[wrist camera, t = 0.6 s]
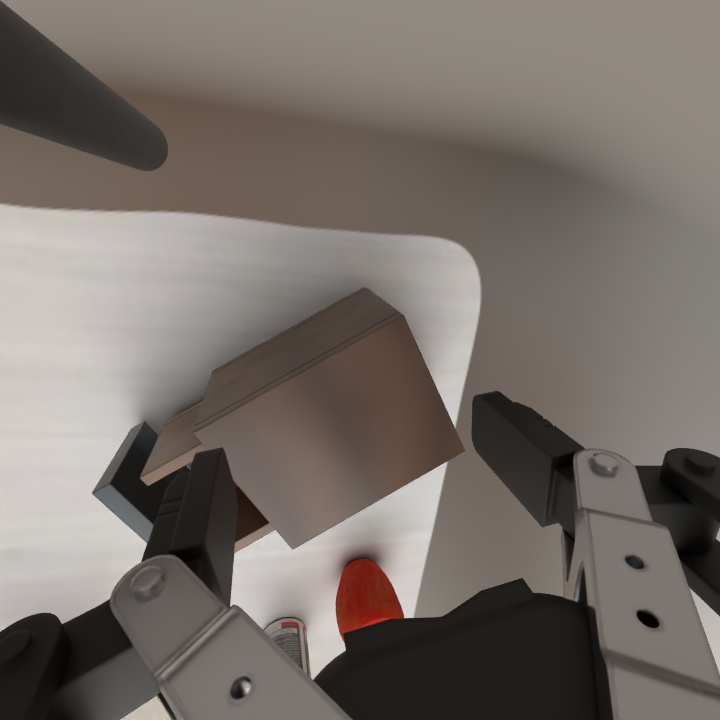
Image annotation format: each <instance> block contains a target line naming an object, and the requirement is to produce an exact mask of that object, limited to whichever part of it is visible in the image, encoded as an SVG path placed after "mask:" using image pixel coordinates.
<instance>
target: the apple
mask: <svg viewBox="0 0 720 720" xmlns="http://www.w3.org/2000/svg"><path fill="white" fill-rule="evenodd" d="M336 617H337V623H338V627H339V632H340V635H341V637H342V639H343V641H344V636H343V633H346V632H349V631H352V630H356V629H359V628H362V627H365V626H369V625H372V624H375V623H378V622H382V621H385V620H388V619H401V618H404V614H403V611H402V608H401V605H400V603H399V600H398V598H397V595H396V593H395V591H394V588H393V586H392V584H391V582H390V581H389V579H388V578H387V576H386V574H385V573H384V572H383V571H382V570H381V569H380V567H379V566H378V565H377V564H375V563H374V562H373V561H371V560H369V559H364V558H361V559H358V560H354V561H353V562H351V563H350V564H349V565H347V566H346V568H345V570H344V571H343V573H342V576H341V580H340V584H339V587H338V591H337V597H336ZM344 643H345V641H344Z"/></svg>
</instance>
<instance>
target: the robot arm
mask: <svg viewBox="0 0 720 720" xmlns="http://www.w3.org/2000/svg"><path fill="white" fill-rule="evenodd" d="M472 441H473V445H474V447H475V450H476V451H477V453H478V454H479V455H480V456H481V458H482V459H483V460H484V461H485V462H486V463H487V465H488V466H489V467H490V468H491V469H492V470H493V471H494V473H495V474H496V475H497V476H498V477H499V478H500V480H501V481H502V482H503V483H504V484H505V485H506V486H507V487H508V489H509V490H510V491H511V492H512V493H513V494H514V496H515V497H516V498H517V499H518V500H519V501H520V502H521V504H522V505H523V506H524V507H525V508H526V509H527V510H528V512H529V513H530V514H531V515H532V516H533V517H534V518H535V520H536V521H537V522H538V523H539V524H540V525H541V526H542V527H545V526H548V525H552V524H555V523H559V524H560V525H561V526H562V527H563V528H562V535H561V543H562V565H563V589H564V597H561V596H555V595H550V594H543V593H533V592H532V591H531V589H530V588H529V587H528V585H527V584H526V582H525V581H524V580H523V578H521V579H518V580H514V581H511V582H508V583H505V584H502V585H499V586H495V587H492V588H489V589H485V590H482V591H480V592H479V593H477V594H476V595H474V596H473V597H472V598H470V599H469V600H467V601H466V602H464V603H463V604H461V605H460V606H458V607H457V608H455V609H454V610H452V611H451V612H449V613H448V614H446V615H445V616H442V617H434V618H401V619H388V620H385V621H382V622H378V623H375V624H372V625H369V626H365V627H362V628H359V629H356V630H352V631H349V632H346V633H343V636H344V641H345V647H346V651H344V652H343V653H342V654H340V655H339V656H337V657H336V658H335V659H333V660H332V661H331V662H330V663H329V664H328V665H326V666H325V667H324V668H323V670H322V671H321V672H320V673H319V674H318V675H317V676H316V677H315V679H314V680H312V679H311V678H310V677H309V676H308V675H307V674H306V673H305V672H304V671H303V670H302V669H301V668H300V667H299V666H298V665H297V664H296V663H295V662H294V661H293V660H292V659H291V658H290V657H289V656H288V655H287V654H286V653H285V652H284V651H283V650H282V649H281V648H280V647H279V646H278V645H277V644H276V643H275V642H274V641H273V640H272V639H271V638H270V637H269V636H268V635H267V634H266V633H265V632H264V631H263V629H262V628H261V627H260V626H259V625H258V624H257V623H256V622H255V621H254V620H253V619H252V618H251V617H250V616H249V615H248V614H247V613H246V612H244V611H243V610H242V609H241V608H240V607H239V606H237V605H232V606H231V607H230V598H231V586H232V573H233V561H234V549H235V536H236V524H237V512H238V503H237V494H236V489H235V485H234V482H233V478H232V475H231V471H230V467H229V464H228V460H227V457H226V453H225V450H224V449H223V447H220V448H215V449H211V450H206V451H201V452H196V453H195V455H194V459H193V463H192V466H191V470H190V472H185V473H181V474H178V475H177V476H176V477H175V478H174V480H173V481H172V482H171V483H170V484H169V485H168V487H167V488H166V490H165V493H164V496H163V499H162V505H160V508H159V511H158V514H157V515H158V517H156V520H155V523H154V526H153V529H152V532H151V535H150V538H149V540H148V543H147V546H146V549H145V552H144V555H143V558H142V561H141V563H139V564H138V565H136V566H135V567H133V568H132V569H131V570H129V571H128V572H127V573H126V574H125V575H124V576H123V577H122V578H121V579H120V581H119V582H118V583H117V585H116V586H115V588H114V590H113V592H112V595H111V598H110V599H109V600H108V601H106V602H104V603H103V604H101V605H99V606H97V607H95V608H93V609H91V610H89V611H87V612H85V613H84V614H82V615H80V616H78V617H76V618H74V619H72V620H70V621H68V622H66V623H64V624H62V623H61V622H60V620H59V619H58V617H57V616H55V615H53V614H51V613H39V614H35V615H31V616H28V617H26V618H23V619H21V620H19V621H17V622H15V623H14V624H12V625H10V626H8V627H7V628H5V629H4V630H2V631H1V632H0V720H120V719H121V718H123V717H124V716H126V715H128V714H129V713H131V712H132V711H134V710H135V709H137V708H138V707H140V706H141V705H143V704H144V703H146V702H147V701H149V700H151V699H152V698H154V697H155V696H157V697H158V699H159V700H160V702H161V704H162V705H163V707H164V709H165V710H166V712H167V713H168V715H169V717H170V718H171V720H720V675H719V671H718V668H717V665H716V663H715V660H714V657H713V654H712V651H711V648H710V646H709V643H708V640H707V637H706V634H705V632H704V629H703V626H702V623H701V620H700V617H699V614H698V612H697V609H696V606H695V603H694V600H693V597H692V594H691V591H690V589H689V587H690V588H691V589H692V590H693V591H694V592H695V593H696V594H697V595H698V596H699V597H700V598H701V599H702V600H703V601H704V602H705V603H706V604H708V605H709V607H710V608H712V609H713V610H714V611H715V612H716V613H717V614H718V615H719V616H720V542H719V541H718V540H716V536H717V533H718V531H719V528H720V458H719V457H717V456H714V455H712V454H710V453H707V452H703V451H699V450H695V449H688V448H677V449H672V450H670V451H668V452H667V453H666V454H665V457H664V461H663V464H662V466H634V465H633V464H632V463H631V462H630V461H629V460H627V459H626V458H624V457H622V456H620V455H618V454H616V453H613V452H610V451H607V450H602V449H585V448H584V447H582V446H581V445H580V444H578V443H577V442H576V441H574V440H573V439H572V438H570V437H569V436H568V435H566V434H565V433H564V432H562V431H561V430H560V429H558V428H557V427H556V426H553V425H552V424H551V423H550V422H549V421H548V420H546V419H543V417H542V416H541V415H540V414H538V413H537V412H536V411H534V410H533V409H532V408H529V407H527V406H524V405H522V404H519V403H517V402H514V403H513V402H512V401H511V400H509V399H508V398H507V397H506V396H504V395H503V394H502V393H500V392H498V391H494V392H489V393H484V394H479V395H476V396H474V398H473V403H472Z"/></svg>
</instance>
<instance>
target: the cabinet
mask: <svg viewBox="0 0 720 720" xmlns="http://www.w3.org/2000/svg"><path fill="white" fill-rule="evenodd" d="M193 434H194V435H195V436H196V438H197V439H198V440H199V441H200V442H201V443H202V445H203V446H204V447H205V448H206V449H207V450H211V449H215V448H220V447H223V449H224V450H225V453H226V457H227V460H228V464H229V467H230V471H231V475H232V478H233V481H234V482H235V483H236V484H237V485H238V486H239V488H240V489H241V490H242V491H243V492H244V493H245V495H246V496H247V497H248V498H249V499H250V500H251V502H252V503H253V504H254V505H255V506H256V507H257V509H258V510H259V511H260V512H261V513H262V514H263V516H264V517H265V518H266V519H267V520H268V521H269V523H270V524H271V525H272V526H273V527H274V528H275V530H276V531H277V532H278V533H279V534H280V535H281V536H282V538H283V539H284V540H285V541H286V542H287V543H288V545H289V546H290V547H291V548H292V549H295V548H296V547H298V546H300V545H302V544H303V543H305V542H307V541H309V540H310V539H312V538H314V537H316V536H317V535H319V534H321V533H323V532H324V531H326V530H328V529H330V528H331V527H333V526H335V525H337V524H338V523H340V522H342V521H344V520H345V519H347V518H349V517H351V516H352V515H354V514H356V513H358V512H359V511H361V510H363V509H365V508H366V507H368V506H370V505H372V504H373V503H375V502H377V501H379V500H380V499H382V498H384V497H386V496H387V495H389V494H391V493H393V492H394V491H396V490H398V489H400V488H401V487H403V486H405V485H407V484H408V483H410V482H412V481H413V480H415V479H417V478H419V477H420V476H422V475H424V474H426V473H427V472H429V471H431V470H433V469H434V468H436V467H438V466H440V465H441V464H443V463H445V462H447V461H448V460H450V459H452V458H454V457H455V456H457V455H459V454H461V453H462V452H464V451H465V450H464V447H463V445H462V443H461V441H460V439H459V437H458V434H457V432H456V430H455V427H454V425H453V423H452V421H451V419H450V416H449V414H448V412H447V410H446V408H445V405H444V403H443V401H442V399H441V397H440V394H439V392H438V390H437V388H436V386H435V383H434V381H433V379H432V377H431V375H430V372H429V370H428V368H427V366H426V363H425V361H424V359H423V357H422V355H421V352H420V350H419V348H418V346H417V344H416V341H415V339H414V337H413V335H412V333H411V330H410V328H409V326H408V324H407V322H406V319H405V317H404V315H402V314H401V313H400V312H398V311H397V310H396V309H394V308H393V307H392V306H390V305H389V304H388V303H386V302H385V301H384V300H382V299H381V298H380V297H378V296H377V295H376V294H374V293H373V292H372V291H370V290H369V289H368V288H366V287H364V288H362V289H360V290H358V291H356V292H355V293H353V294H351V295H349V296H347V297H346V298H344V299H342V300H340V301H338V302H337V303H335V304H333V305H331V306H329V307H327V308H326V309H324V310H322V311H320V312H318V313H317V314H315V315H313V316H311V317H309V318H308V319H306V320H304V321H302V322H300V323H299V324H297V325H295V326H293V327H291V328H290V329H288V330H286V331H284V332H282V333H280V334H279V335H277V336H275V337H273V338H271V339H270V340H268V341H266V342H264V343H262V344H261V345H259V346H257V347H255V348H253V349H252V350H250V351H248V352H246V353H244V354H243V355H241V356H239V357H237V358H235V359H233V360H232V361H230V362H228V363H226V364H224V365H223V366H221V367H219V368H217V369H215V370H214V371H212V374H211V377H210V380H209V383H208V386H207V389H206V392H205V396H204V399H203V402H202V405H201V408H200V411H199V414H198V417H197V420H196V423H195V427H194V430H193Z"/></svg>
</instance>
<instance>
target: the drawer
mask: <svg viewBox="0 0 720 720" xmlns="http://www.w3.org/2000/svg"><path fill="white" fill-rule="evenodd" d="M202 402H203V401H201V402H199V403H197V404H196V405H194V406H192V407H190V408H188V409H187V410H185V411H183V412H181V413H179V414H178V415H176V416H174V417H172V418H170V419H169V420H167V421H166V422H165V424H164V427H163V428H162V430H161V433H160V435H159V436H158V435H157V434H156V433H155V432H154V430H153V429H152V428H151V427H150V426H149V425H148V424H147V423H146V422H145V421H144V422H142V423H141V424H139V425H137V426H135V427H133V428H131V430H130V432H129V433H128V435H127V436H126V438H125V440H124V441H123V443H122V445H121V446H120V448H119V450H118V451H117V453H116V455H115V456H114V458H113V459H112V461H111V463H110V464H109V466H108V468H107V469H106V471H105V473H104V474H103V476H102V477H101V479H100V481H99V482H98V484H97V486H96V487H95V489H94V491H93V492H92V494H93V495H94V496H95V497H96V498H98V499H99V500H100V501H101V502H102V503H103V504H104V505H105V506H106V507H108V508H109V509H110V510H111V511H112V512H113V513H114V514H115V515H117V516H118V517H119V518H120V519H121V520H122V521H123V522H124V523H125V524H127V525H128V526H129V527H130V528H131V529H132V530H133V531H134V532H136V533H137V534H138V535H139V536H140V537H141V538H142V539H143V540H144V541H146V542H147V543H148V540H149V538H150V535H151V532H152V529H153V526H154V523H155V520H156V517H158V515H157V514H158V511H159V508H160V505H162V499H163V496H164V493H165V490H166V488H167V487H168V485H169V484H170V483H171V482H172V481H173V480H174V478H175V477H176V476H177V475H178V474H181V473H185V472H190V470H189V469H188V468H187V466H186V464H188V463H190V462H192V461H193V459H194V455H195V453H196V452H201V451H206V450H207V449H206V448H205V447H204V446H203V445H202V443H201V442H200V441H199V440H198V439H197V438H196V436H195V435H194V434H193V430H194V427H195V423H196V420H197V417H198V414H199V411H200V408H201V405H202ZM233 482H234V481H233ZM234 485H235V489H236V494H237V503H238V512H237V524H236V536H235V549H234V553H235V552H237V551H239V550H240V549H242V548H244V547H246V546H247V545H249V544H251V543H253V542H254V541H256V540H258V539H260V538H261V537H263V536H265V535H267V534H268V533H270V532H272V531H274V530H275V528H274V527H273V526H272V525H271V524H270V523H269V521H268V520H267V519H266V518H265V517H264V516H263V514H262V513H261V512H260V511H259V510H258V509H257V507H256V506H255V505H254V504H253V503H252V502H251V500H250V499H249V498H248V497H247V496H246V495H245V493H244V492H243V491H242V490H241V489H240V488H239V486H238V485H237V484H236V483H235V482H234Z"/></svg>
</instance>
